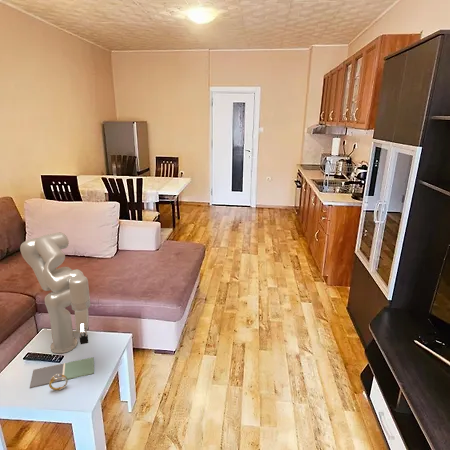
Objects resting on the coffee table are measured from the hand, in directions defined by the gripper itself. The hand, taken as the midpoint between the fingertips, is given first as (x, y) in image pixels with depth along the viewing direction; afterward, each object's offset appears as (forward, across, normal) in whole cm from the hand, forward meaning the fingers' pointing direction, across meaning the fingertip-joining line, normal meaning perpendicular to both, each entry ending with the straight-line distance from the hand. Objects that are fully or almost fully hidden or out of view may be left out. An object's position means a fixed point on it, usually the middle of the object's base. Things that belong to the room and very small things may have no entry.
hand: (84, 336), depth 147 cm
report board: (+18, -2, -11) cm, 21 cm away
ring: (+19, +8, -12) cm, 24 cm away
